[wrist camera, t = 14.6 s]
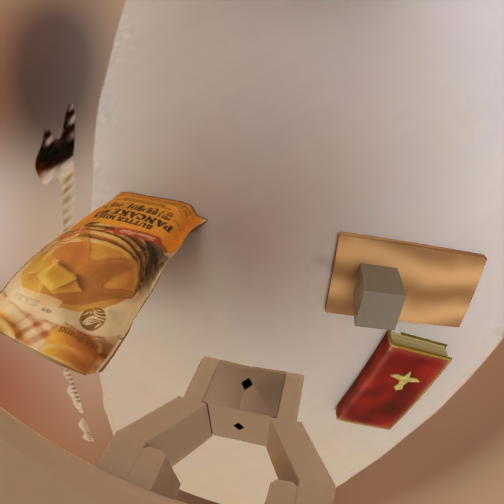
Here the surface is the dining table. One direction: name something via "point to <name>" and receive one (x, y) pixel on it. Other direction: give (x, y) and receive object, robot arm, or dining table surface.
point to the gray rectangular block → (378, 297)
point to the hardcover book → (393, 380)
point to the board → (409, 277)
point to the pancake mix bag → (94, 280)
